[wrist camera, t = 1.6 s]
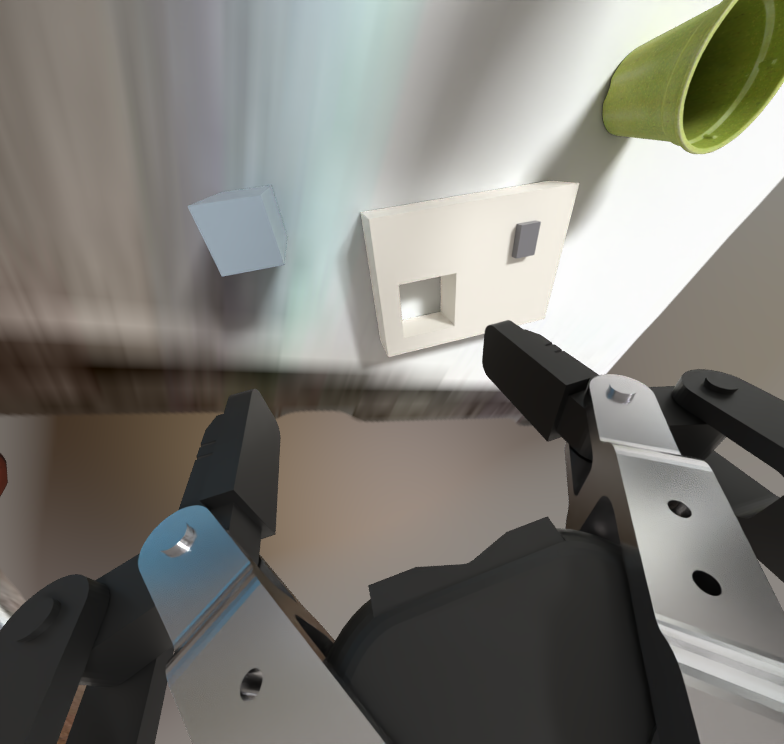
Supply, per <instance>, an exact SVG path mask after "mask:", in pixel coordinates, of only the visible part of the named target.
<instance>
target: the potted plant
mask: <svg viewBox="0 0 784 744" xmlns="http://www.w3.org/2000/svg"><path fill="white" fill-rule="evenodd" d="M7 483H8V480H7V467H6V460H5V458H4V457H3V456H2V455H1V454H0V496H1V494H2V493H3V491H4V489H5V487H6V485H7Z"/></svg>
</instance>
